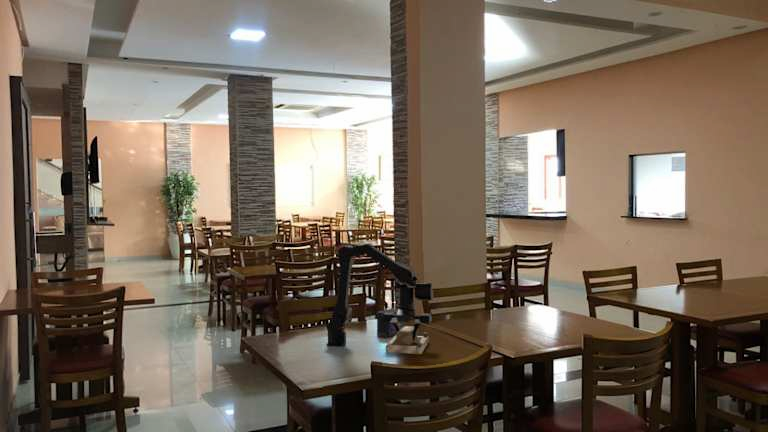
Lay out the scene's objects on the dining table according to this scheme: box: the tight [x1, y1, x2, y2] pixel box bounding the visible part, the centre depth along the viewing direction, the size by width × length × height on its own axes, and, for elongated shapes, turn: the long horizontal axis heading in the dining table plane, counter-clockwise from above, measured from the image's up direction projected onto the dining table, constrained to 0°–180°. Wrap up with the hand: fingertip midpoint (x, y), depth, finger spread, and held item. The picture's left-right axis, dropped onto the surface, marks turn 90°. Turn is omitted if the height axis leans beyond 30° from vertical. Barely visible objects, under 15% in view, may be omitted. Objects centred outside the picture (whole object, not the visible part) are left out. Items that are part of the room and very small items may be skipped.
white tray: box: [385, 331, 429, 355], centre depth 242 cm, size 14×19×4 cm
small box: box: [376, 308, 403, 339], centre depth 263 cm, size 11×6×10 cm, turn 143°
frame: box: [396, 325, 418, 346], centre depth 242 cm, size 5×12×5 cm, turn 162°
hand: (407, 339), depth 242 cm, fingers closed on frame, 5 cm apart
